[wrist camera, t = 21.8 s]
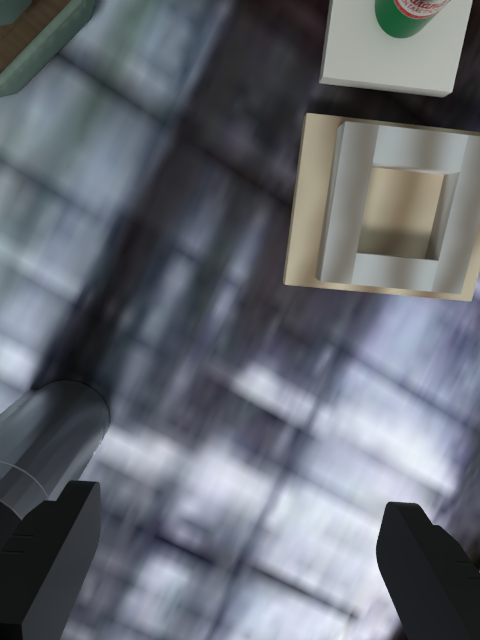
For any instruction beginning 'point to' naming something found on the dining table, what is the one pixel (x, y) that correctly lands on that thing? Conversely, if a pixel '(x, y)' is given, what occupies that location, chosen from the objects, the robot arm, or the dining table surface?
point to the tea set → (35, 36)
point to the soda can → (406, 15)
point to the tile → (392, 50)
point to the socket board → (385, 209)
